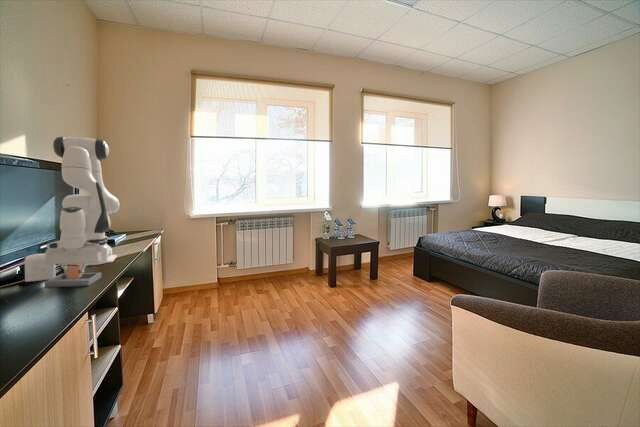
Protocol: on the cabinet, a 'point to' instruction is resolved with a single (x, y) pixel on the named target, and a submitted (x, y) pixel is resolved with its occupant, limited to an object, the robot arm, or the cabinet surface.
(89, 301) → the cabinet surface
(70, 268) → the terracotta block
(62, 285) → the tray
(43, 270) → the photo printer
